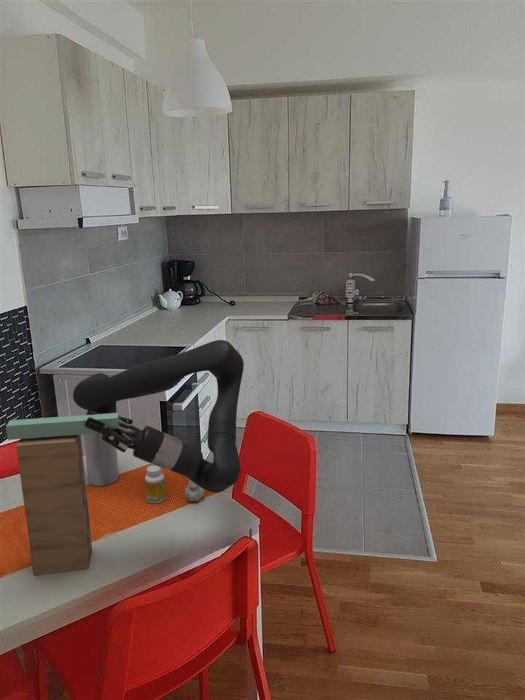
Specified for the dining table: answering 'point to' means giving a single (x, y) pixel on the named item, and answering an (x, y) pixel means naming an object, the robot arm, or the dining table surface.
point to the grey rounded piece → (193, 491)
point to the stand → (55, 503)
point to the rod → (56, 426)
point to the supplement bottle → (154, 484)
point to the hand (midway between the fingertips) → (87, 418)
